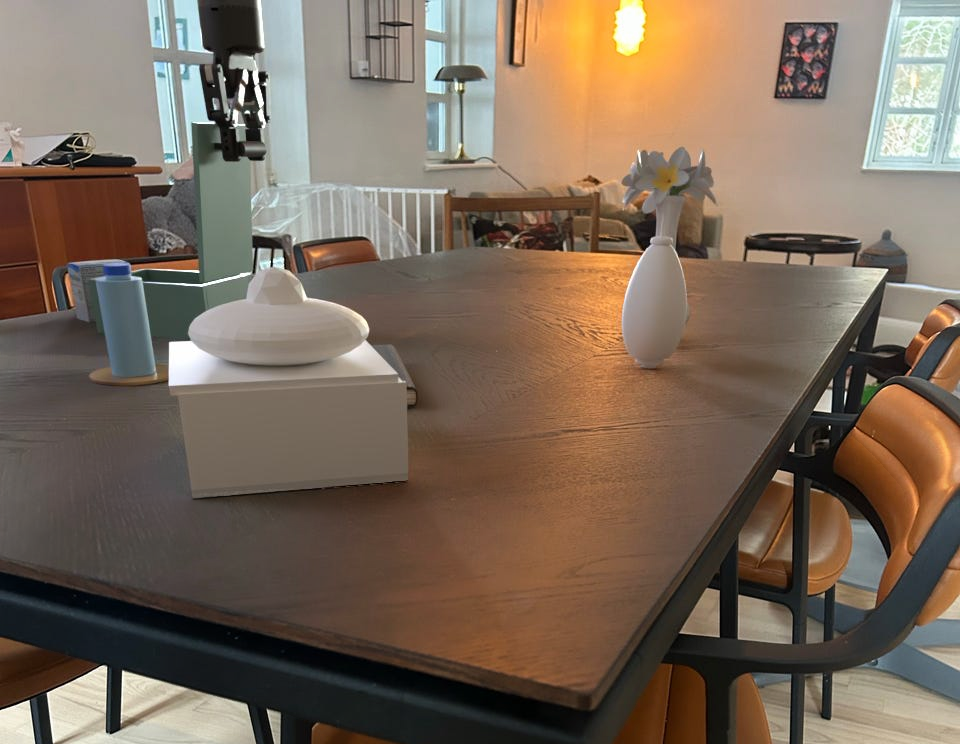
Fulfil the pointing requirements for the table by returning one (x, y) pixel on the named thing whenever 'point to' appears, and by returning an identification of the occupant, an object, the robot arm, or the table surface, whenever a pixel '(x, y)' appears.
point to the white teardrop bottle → (655, 304)
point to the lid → (222, 203)
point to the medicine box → (85, 285)
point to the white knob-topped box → (286, 394)
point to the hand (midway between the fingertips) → (244, 160)
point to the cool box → (178, 298)
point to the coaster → (108, 378)
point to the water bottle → (125, 321)
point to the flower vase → (668, 187)
